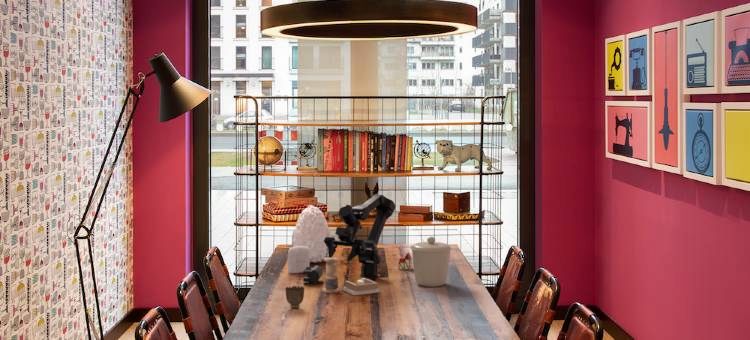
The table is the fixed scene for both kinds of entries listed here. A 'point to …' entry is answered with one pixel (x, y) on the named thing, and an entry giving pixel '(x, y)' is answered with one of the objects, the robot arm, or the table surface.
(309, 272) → the end cap
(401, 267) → the toy house
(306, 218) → the rice ball
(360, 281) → the reel lid
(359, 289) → the cream cradle stand
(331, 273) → the bobbin
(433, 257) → the canister
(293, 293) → the cup
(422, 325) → the table surface
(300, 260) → the photo printer
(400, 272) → the table surface
